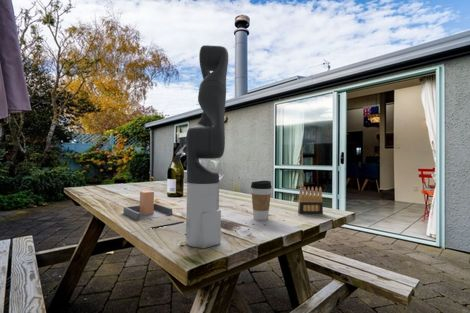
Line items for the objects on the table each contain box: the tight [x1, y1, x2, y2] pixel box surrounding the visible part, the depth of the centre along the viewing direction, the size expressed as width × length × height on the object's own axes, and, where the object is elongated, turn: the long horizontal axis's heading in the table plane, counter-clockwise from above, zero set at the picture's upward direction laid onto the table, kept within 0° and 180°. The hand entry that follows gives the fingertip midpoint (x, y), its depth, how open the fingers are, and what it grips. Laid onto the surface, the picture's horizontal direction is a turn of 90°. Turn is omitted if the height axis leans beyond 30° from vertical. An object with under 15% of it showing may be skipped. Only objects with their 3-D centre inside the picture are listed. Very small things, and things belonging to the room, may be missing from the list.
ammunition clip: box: [297, 186, 324, 215], centre depth 110 cm, size 11×2×12 cm, turn 94°
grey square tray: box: [123, 202, 173, 221], centre depth 101 cm, size 15×14×4 cm
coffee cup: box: [250, 180, 273, 221], centre depth 100 cm, size 8×8×15 cm
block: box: [139, 190, 155, 215], centre depth 102 cm, size 4×4×9 cm
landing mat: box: [150, 221, 185, 230], centre depth 91 cm, size 9×12×1 cm
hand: (179, 164), depth 112 cm, fingers open, 8 cm apart
